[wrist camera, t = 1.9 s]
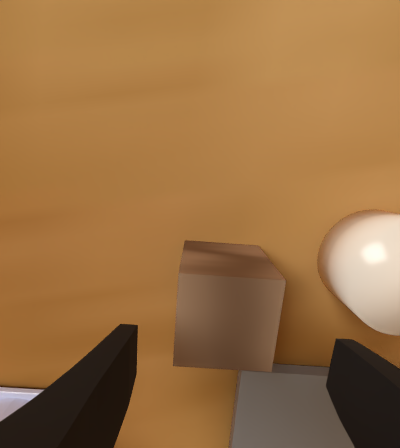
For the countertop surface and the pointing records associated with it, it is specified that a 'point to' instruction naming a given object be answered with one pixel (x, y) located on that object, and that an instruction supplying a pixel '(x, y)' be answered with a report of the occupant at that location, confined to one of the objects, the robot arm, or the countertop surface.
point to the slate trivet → (286, 410)
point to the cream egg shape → (365, 267)
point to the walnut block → (227, 307)
